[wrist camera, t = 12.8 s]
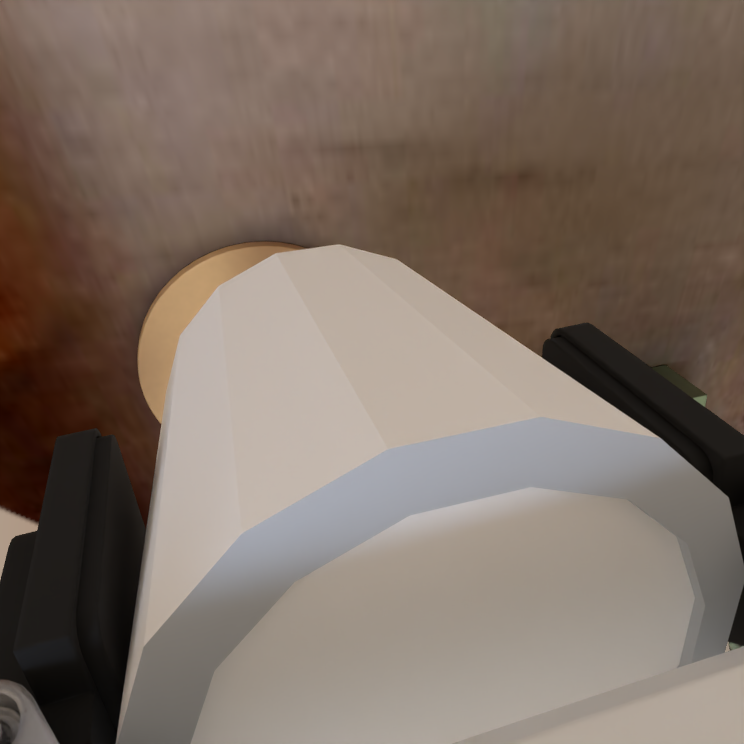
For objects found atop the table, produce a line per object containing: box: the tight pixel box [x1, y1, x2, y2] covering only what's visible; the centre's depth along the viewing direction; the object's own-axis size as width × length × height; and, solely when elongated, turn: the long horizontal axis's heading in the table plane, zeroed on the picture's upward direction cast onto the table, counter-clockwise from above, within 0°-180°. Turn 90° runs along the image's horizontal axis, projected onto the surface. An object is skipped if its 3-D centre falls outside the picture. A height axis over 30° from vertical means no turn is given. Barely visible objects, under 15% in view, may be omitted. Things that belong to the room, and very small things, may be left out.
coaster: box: [137, 241, 306, 424], centre depth 29 cm, size 10×10×1 cm
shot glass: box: [116, 244, 744, 744], centre depth 10 cm, size 7×7×7 cm
